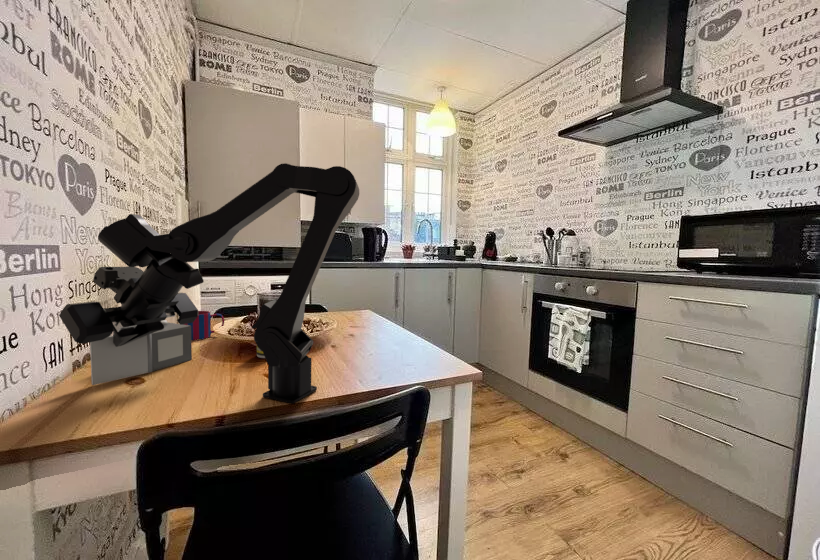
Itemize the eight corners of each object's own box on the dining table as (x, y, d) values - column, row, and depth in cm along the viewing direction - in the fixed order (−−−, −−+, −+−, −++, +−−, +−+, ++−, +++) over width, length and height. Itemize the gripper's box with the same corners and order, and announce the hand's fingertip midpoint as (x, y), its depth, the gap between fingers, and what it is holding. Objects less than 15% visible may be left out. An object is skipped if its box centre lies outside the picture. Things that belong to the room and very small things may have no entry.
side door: (150, 370, 66) (149, 329, 66) (153, 371, 66) (152, 330, 65) (90, 383, 59) (88, 338, 58) (93, 385, 58) (91, 339, 58)
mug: (186, 335, 95) (185, 311, 94) (226, 333, 98) (226, 310, 97) (178, 341, 88) (177, 315, 88) (221, 339, 92) (221, 314, 91)
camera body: (192, 359, 74) (191, 322, 74) (147, 373, 66) (146, 330, 65) (166, 354, 77) (165, 318, 76) (120, 366, 68) (119, 326, 68)
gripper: (186, 251, 67) (149, 303, 71) (63, 249, 49) (24, 318, 53) (217, 294, 65) (177, 344, 69) (101, 307, 47) (57, 374, 51)
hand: (117, 344), depth 61 cm, fingers closed, pressing on side door
